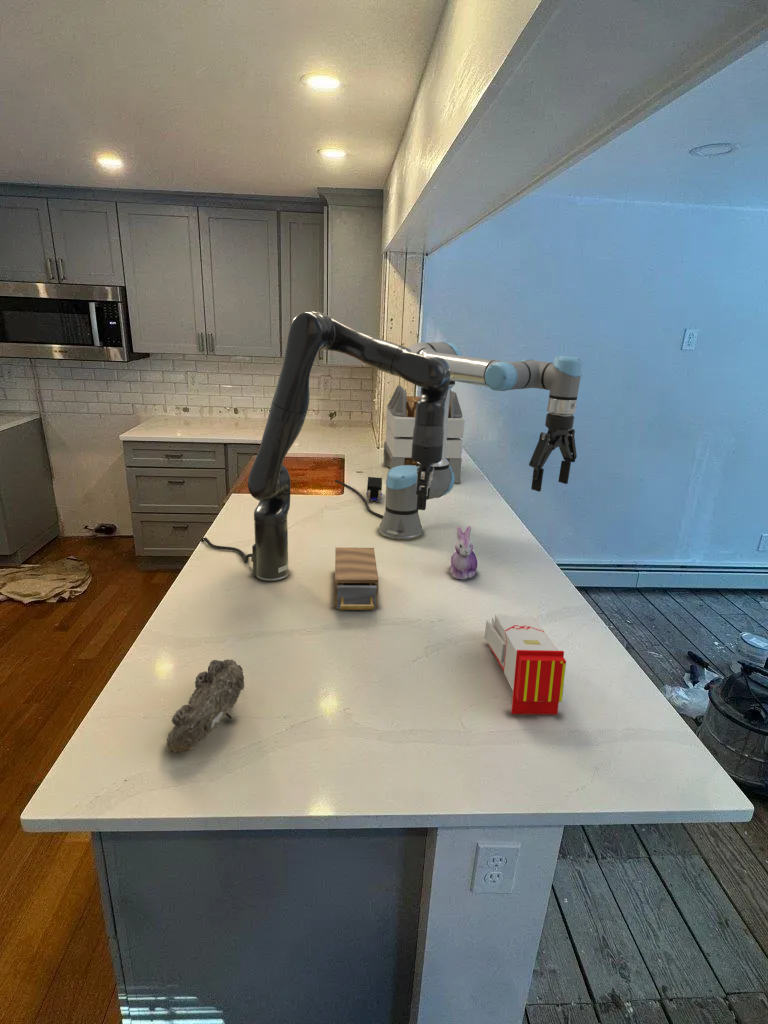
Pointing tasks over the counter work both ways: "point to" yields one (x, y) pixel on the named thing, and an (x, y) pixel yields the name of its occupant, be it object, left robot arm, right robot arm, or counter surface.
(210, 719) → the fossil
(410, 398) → the white crate
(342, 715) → the counter surface
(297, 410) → the left robot arm
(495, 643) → the toy
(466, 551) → the figurine
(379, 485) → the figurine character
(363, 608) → the drawer
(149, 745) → the counter surface
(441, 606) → the counter surface
